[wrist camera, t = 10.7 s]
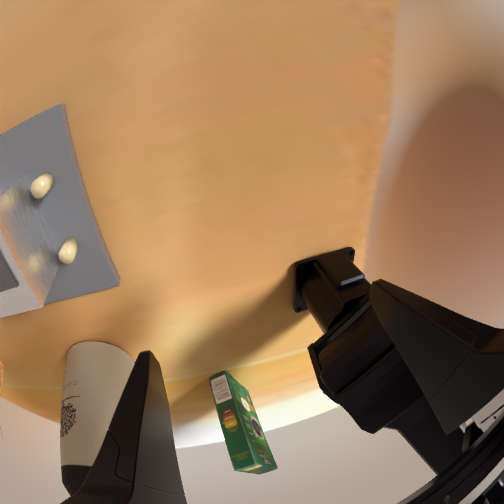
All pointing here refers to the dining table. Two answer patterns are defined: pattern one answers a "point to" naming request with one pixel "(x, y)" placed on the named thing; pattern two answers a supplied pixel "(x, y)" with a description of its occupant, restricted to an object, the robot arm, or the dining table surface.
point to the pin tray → (59, 202)
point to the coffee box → (241, 426)
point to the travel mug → (89, 405)
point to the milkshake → (0, 376)
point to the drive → (23, 251)
